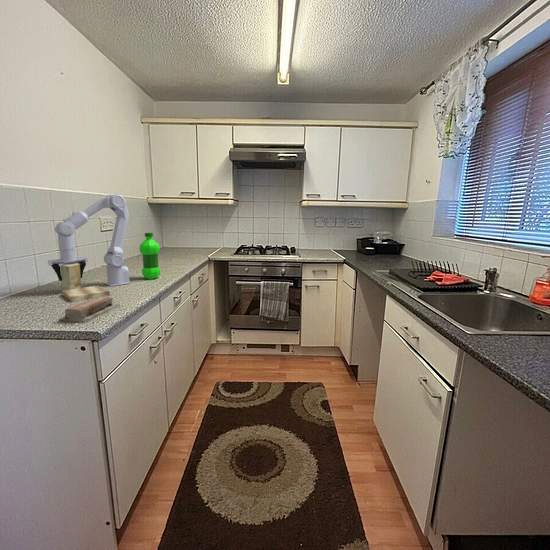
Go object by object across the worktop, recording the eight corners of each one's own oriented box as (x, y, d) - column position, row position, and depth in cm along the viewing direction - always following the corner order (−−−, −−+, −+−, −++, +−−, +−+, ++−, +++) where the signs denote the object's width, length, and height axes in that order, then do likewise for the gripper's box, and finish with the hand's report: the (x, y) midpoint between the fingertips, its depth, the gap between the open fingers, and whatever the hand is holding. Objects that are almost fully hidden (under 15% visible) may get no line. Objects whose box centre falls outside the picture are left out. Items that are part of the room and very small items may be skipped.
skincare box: (70, 292, 132) (68, 266, 128) (61, 290, 132) (59, 264, 128) (81, 288, 138) (80, 263, 134) (74, 286, 138) (72, 261, 135)
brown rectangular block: (85, 309, 96) (57, 308, 97) (87, 323, 97) (59, 322, 98) (119, 295, 114) (95, 294, 115) (120, 307, 115) (96, 306, 116)
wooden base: (98, 289, 138) (98, 285, 137) (109, 295, 129) (109, 290, 128) (62, 295, 127) (62, 290, 127) (72, 301, 118) (71, 297, 118)
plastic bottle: (149, 281, 157) (146, 233, 152) (137, 278, 162) (134, 232, 157) (165, 277, 165) (163, 233, 160) (153, 275, 170) (150, 232, 165)
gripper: (82, 247, 139) (86, 275, 142) (44, 249, 129) (49, 280, 131) (87, 248, 135) (90, 277, 137) (48, 251, 124) (53, 282, 127)
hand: (70, 279), depth 134 cm, fingers closed on skincare box, 7 cm apart
